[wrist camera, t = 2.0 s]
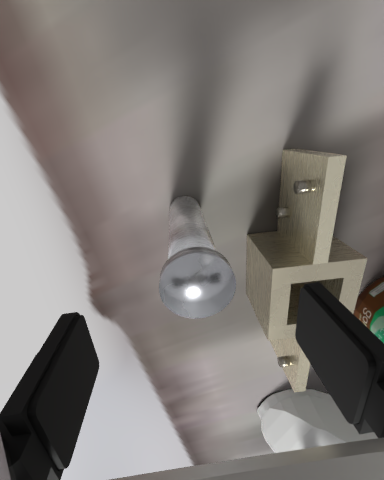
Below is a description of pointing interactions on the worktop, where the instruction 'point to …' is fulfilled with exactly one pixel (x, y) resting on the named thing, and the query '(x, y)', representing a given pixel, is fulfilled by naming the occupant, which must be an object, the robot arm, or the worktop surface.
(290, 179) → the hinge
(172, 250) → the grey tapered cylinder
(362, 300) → the food container
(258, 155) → the worktop surface
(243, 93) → the worktop surface
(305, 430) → the iron
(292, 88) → the worktop surface
